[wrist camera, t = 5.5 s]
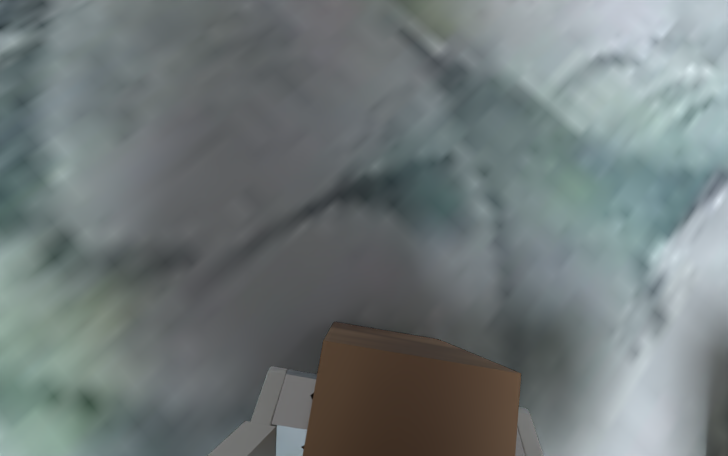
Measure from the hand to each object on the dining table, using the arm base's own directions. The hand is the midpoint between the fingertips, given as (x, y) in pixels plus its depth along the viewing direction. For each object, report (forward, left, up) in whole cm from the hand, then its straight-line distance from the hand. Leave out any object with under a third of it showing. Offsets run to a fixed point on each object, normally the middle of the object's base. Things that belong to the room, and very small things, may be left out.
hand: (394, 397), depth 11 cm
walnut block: (+1, 0, -4) cm, 4 cm away
